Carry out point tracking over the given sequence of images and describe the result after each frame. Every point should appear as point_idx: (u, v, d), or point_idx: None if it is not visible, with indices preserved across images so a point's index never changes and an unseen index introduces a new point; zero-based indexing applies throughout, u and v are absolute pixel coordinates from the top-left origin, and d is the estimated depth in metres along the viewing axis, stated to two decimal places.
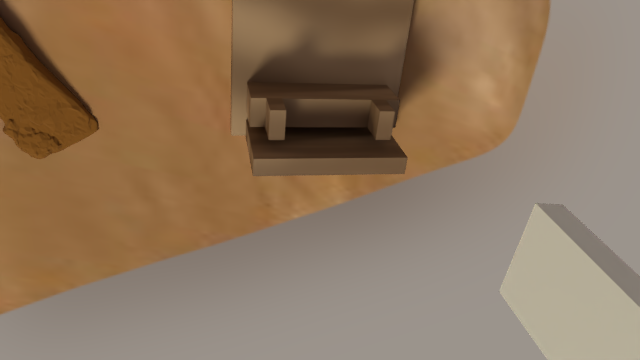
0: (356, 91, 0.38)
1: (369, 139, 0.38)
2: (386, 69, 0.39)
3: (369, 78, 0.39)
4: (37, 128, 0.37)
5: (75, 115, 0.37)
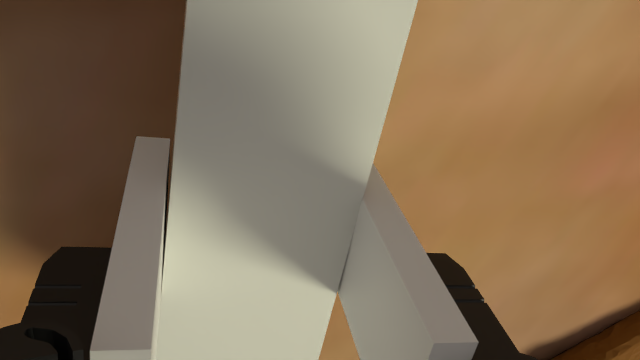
0: None
1: None
2: None
3: None
4: None
5: None
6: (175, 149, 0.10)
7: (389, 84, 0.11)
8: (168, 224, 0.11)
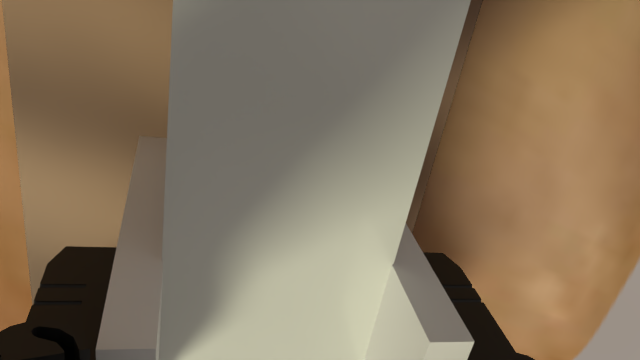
0: None
1: None
2: None
3: None
4: None
5: None
6: (165, 216, 0.08)
7: (427, 127, 0.09)
8: (161, 301, 0.09)
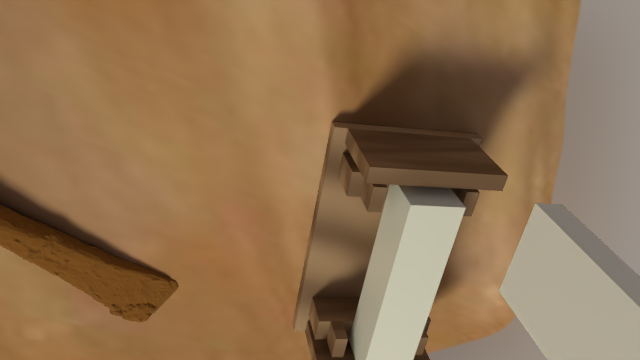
0: None
1: None
2: None
3: None
4: (134, 302, 0.45)
5: (157, 284, 0.45)
6: (390, 275, 0.39)
7: (447, 255, 0.39)
8: (385, 294, 0.39)
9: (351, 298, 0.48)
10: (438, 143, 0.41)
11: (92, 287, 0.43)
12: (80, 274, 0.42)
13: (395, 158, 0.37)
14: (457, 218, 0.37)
